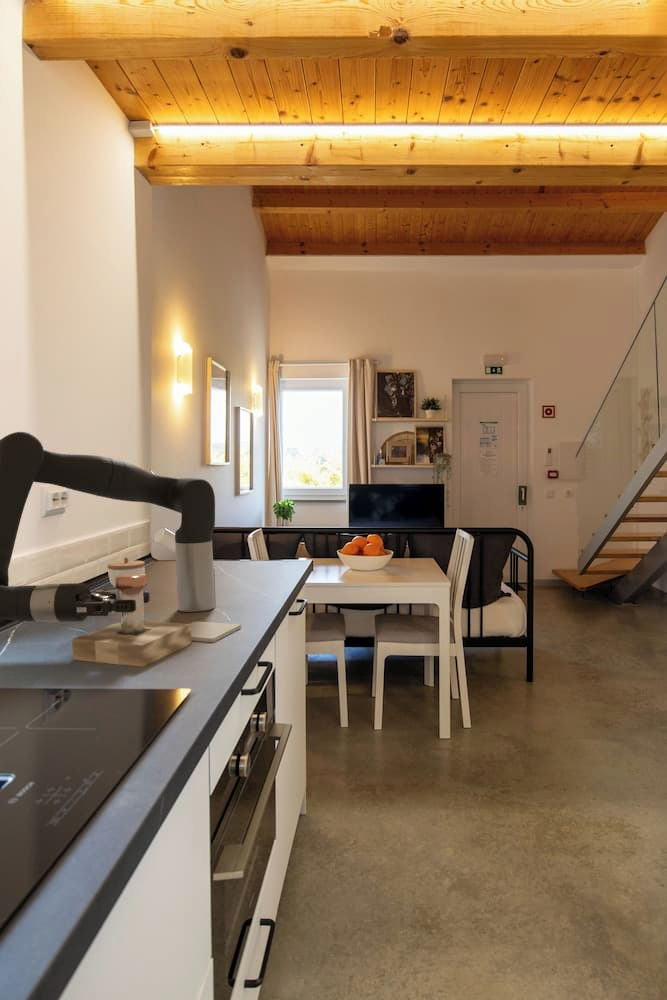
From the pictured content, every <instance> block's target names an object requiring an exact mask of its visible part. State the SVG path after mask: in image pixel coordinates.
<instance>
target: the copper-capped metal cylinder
mask: <svg viewBox="0 0 667 1000" xmlns="http://www.w3.org/2000/svg"><path fill="white" fill-rule="evenodd" d="M146 587H148V575H147V574H146V573H145V574H126V575H120V576H116V577H115V587H114V589H120V600H135V601H136V610H135V611H134V612H120V622H121V627H122V635H134V636H137V635H139V634H142V633H144V632H145V621H146V620H145V603H144V596H143V592H144V588H146Z"/></svg>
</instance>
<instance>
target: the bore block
mask: <svg viewBox="0 0 667 1000" xmlns="http://www.w3.org/2000/svg"><path fill="white" fill-rule="evenodd" d="M191 644H192V641H191V624H190V623H178V622H166V621H165V622H162V621H150V620H145V632H144V633H142V634H139V635H137V636H134V635H122V627H121V621H118V622H116V623H113V624H110V625H107V626H105V627H101V628H99V629H97V630H93V631H91V632H89V633H84V634H82V635H79V636H77V637H75V638H74V637H73V638H71V645H72V646H71V647H72V660H73V661H81V662H89V663H101V664H111V665H120V666H131V667H132V666H133V667H139V668H144V667H146V666H148V665H150V664H152V663H154V662H157V661H158V660H161V659H163V658H165V657H166V656H168V655H171V654H173V653H175V652H177V651H179V650H181V649H183V648H185V647H187V646H189V645H191Z"/></svg>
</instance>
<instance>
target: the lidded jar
mask: <svg viewBox="0 0 667 1000" xmlns="http://www.w3.org/2000/svg"><path fill="white" fill-rule="evenodd" d="M123 559H124V560H121V561H115V562H110V563H108V564H107V571H108V572H107V573H108V578H109V582H110V583H111V585H112V586H113V587H114V588H115V577H116V576H120V575H126V574H146V572H145V570H146V569H145V568H146V567H145V565H146V562H145V561H143V560H129V558H128V557H124V558H123Z"/></svg>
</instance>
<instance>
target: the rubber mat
mask: <svg viewBox="0 0 667 1000" xmlns="http://www.w3.org/2000/svg"><path fill="white" fill-rule="evenodd" d="M189 624H191V642H206V643H215V642H216V641H219V640H221V639H222V638H225V637H227V636H229V635H230V634H233V633H234V632H237V631H238V629H239V630H240V629H242V624H237V623H223V622H213V621H212V622H210V621H198V620H197V621H196V620H194V621H192V622H190V623H189Z"/></svg>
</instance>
